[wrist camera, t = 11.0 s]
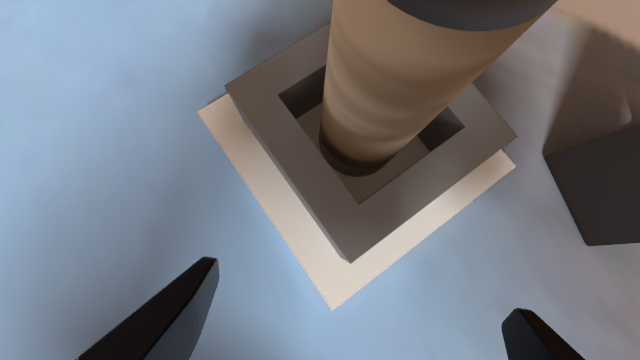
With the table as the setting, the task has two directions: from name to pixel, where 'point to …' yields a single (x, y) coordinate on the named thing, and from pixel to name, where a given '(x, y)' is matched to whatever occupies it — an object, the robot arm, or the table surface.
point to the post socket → (346, 191)
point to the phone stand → (602, 186)
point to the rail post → (406, 69)
